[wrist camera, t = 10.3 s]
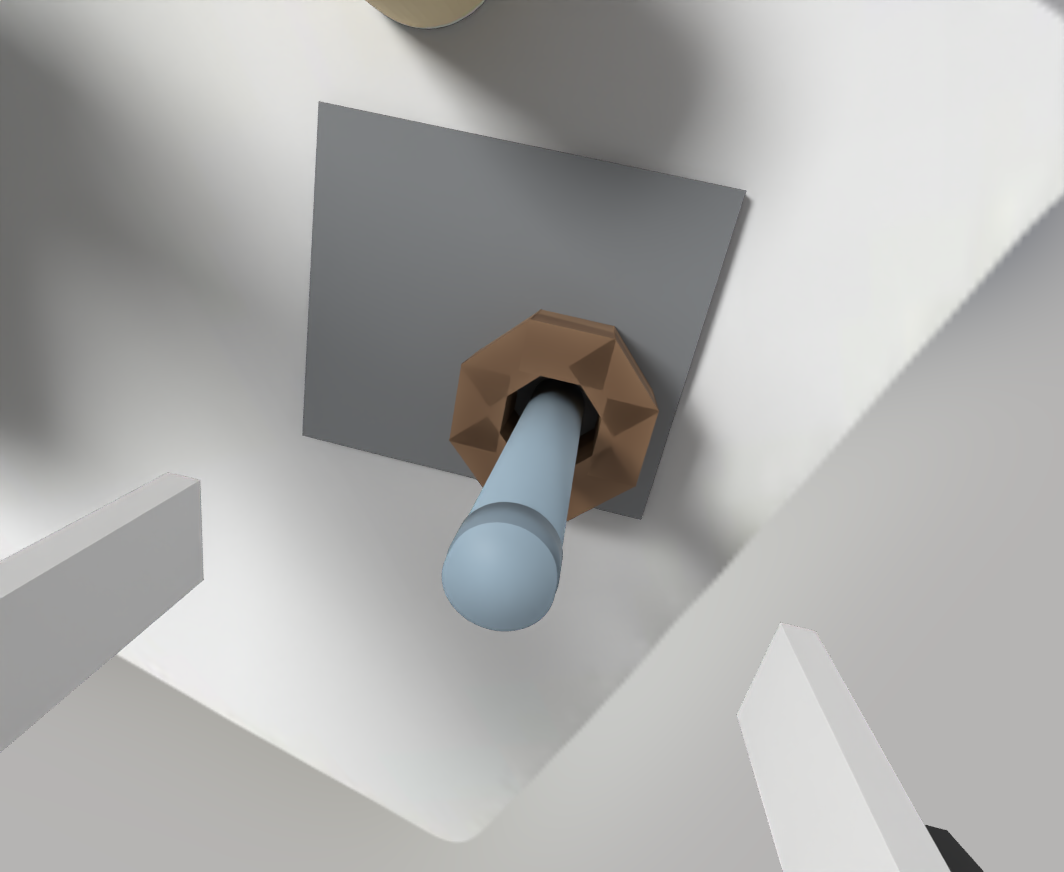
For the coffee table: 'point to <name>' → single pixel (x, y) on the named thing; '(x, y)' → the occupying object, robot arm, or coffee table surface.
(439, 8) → the coffee cup
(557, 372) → the bead
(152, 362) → the coffee table surface
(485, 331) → the mat
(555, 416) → the blue rounded-end rod
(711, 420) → the coffee table surface
